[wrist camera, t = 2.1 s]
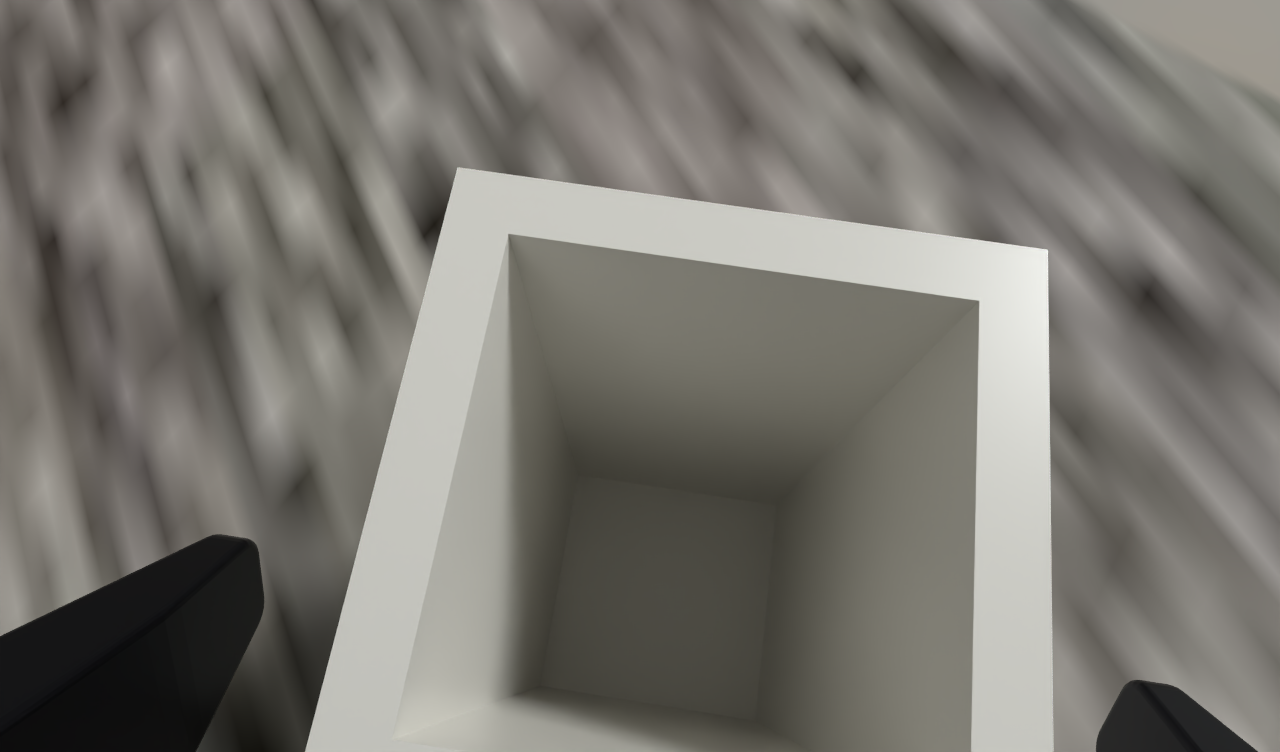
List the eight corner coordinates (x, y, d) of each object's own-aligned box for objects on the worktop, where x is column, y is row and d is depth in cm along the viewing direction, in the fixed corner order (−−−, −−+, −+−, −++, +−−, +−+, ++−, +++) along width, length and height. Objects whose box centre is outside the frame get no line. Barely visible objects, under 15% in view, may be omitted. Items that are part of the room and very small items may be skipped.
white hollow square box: (801, 486, 18) (1048, 249, 7) (777, 755, 16) (1056, 949, 6) (557, 450, 18) (457, 167, 8) (507, 711, 16) (287, 817, 6)
